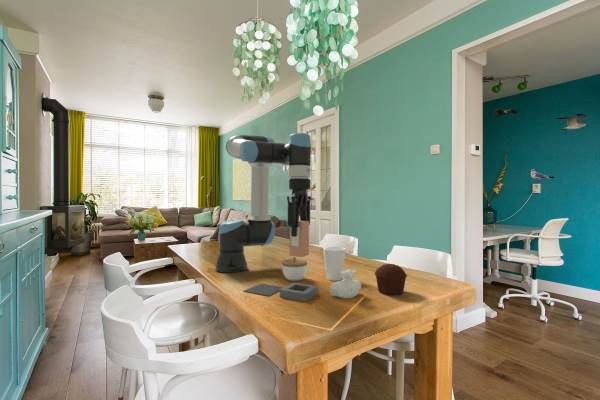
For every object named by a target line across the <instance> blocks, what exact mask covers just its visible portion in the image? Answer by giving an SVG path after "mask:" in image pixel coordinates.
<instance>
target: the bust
mask: <svg viewBox="0 0 600 400" xmlns="http://www.w3.org/2000/svg"><path fill="white" fill-rule="evenodd" d="M356 271H357V270H356V269H353V270H352V269H351V268H346V269H345V270H343V271H340V273H341V275H342V279H341V280H338V281H333V282H332V283H331V284H330V286H329V292H330V296H332V297H338V298H342V299H354V298H355V297H357V295H358V294H359V292H360V289H362V282H361V281H360V280H357V279H355V277H356V273H357V272H356Z"/></svg>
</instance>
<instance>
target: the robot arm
mask: <svg viewBox="0 0 600 400" xmlns="http://www.w3.org/2000/svg"><path fill="white" fill-rule="evenodd" d="M225 150H226V152H227V154H228V155H229V156H230V157H232V158H235V159H239V160H241V161H242V162H247V163H248V165H249V166H250V168H251V171H250V172H251V176H250V177H251V182H250V184H251V185H250V186H251V187H250V189H251V190H250V192H251V193H250V215H249V217H248V218H247V221H246V222H245V220H243V219H235V220H228V221H224V222H221V223H220V224H219V227H218V256H217V260H216V263H215V265H214V270H215V271H216V272H218V271H219V273H239V272H244V271H246V270H248V262H247V260H246V256H245V252H244V251H245V249H244V248H245V247H253V246H254V247H257V246H258V247H259V246H263V247H264V246H269V245H271V244H272V243H273V240H274V239H275V234H276V227H275V223H274V222H273V221H272V219H271V217H270V216H269V190H270V189H269V185H270V184H269V182H270V181H269V180H270V179H269V178H270V177H269V176H270V167H271V166H272V165H273V164H280V165H282V166H283V165H284V166H285V165H287V166H289V167H288V177H289V178H290V179H289V181H288V189H289V190H292V191H291V195H287V196H286V198H287V199H286V200H287V201H286V202H287V226H288V227H289V228H290V227H291V246H299V227H298V222H299V220H300V221H309V226H310V225H311V201H312V197H311V195H310V196H309V195H308V193H307V192H308V190H310V189H311V179H310V178H311V171H312V168H311V159H312V157H311V156H312V155H311V153H312V141H311V136H310V135H309V133H305V132H304V133H303V132H294V133H291V134H290V135H289V139H288V143H280V142H275V140H274V139H273V138H272V137H268V136H261V135H248V134H237V135H234V136H231V137H230V138H229V139H227V141H226V144H225Z"/></svg>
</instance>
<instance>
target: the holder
mask: <svg viewBox="0 0 600 400" xmlns="http://www.w3.org/2000/svg"><path fill="white" fill-rule="evenodd" d="M283 287H284V288H282V289H280V291H279V297H280V298H283V299H289V300H295V301H298V302H299V301H300V302H305V303H307V301H309V300H310V299H312V298H313V297H315V296H317V294H319V286H318V285H312V284H307V283H300V282H292V283H289V284H287V285H286V286H283Z"/></svg>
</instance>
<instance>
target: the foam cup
mask: <svg viewBox="0 0 600 400" xmlns="http://www.w3.org/2000/svg"><path fill="white" fill-rule="evenodd" d="M322 254H323V258H324V265H325V274H326V280H328V281H333V282H338V281H342V280H343V275H341V273H340V271H344V266H345V265H344V263H345V256H346V248H345V247H343V246H342V247H341V246H325V247H323V253H322Z"/></svg>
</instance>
